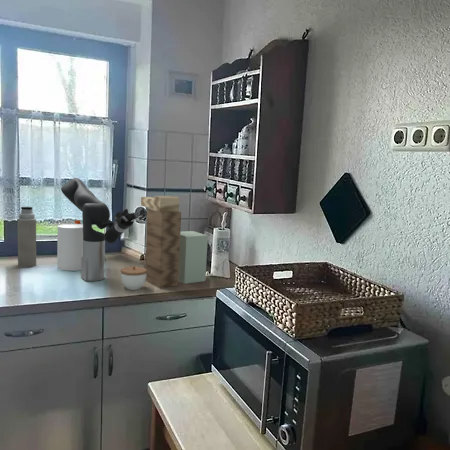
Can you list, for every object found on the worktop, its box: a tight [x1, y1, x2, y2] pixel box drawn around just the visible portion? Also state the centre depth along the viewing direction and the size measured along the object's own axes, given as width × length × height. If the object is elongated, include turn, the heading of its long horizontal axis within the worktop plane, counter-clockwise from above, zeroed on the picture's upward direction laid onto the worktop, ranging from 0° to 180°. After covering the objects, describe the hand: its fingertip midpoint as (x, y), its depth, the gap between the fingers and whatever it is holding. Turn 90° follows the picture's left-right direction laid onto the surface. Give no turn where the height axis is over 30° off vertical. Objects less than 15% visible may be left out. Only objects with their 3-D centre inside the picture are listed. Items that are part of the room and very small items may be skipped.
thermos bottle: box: [17, 206, 37, 268], centre depth 212 cm, size 8×8×28 cm
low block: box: [178, 230, 209, 285], centre depth 204 cm, size 11×13×21 cm
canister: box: [56, 223, 83, 271], centre depth 214 cm, size 14×14×20 cm
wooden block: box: [140, 195, 180, 212], centre depth 198 cm, size 24×9×6 cm, turn 35°
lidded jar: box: [120, 265, 147, 291], centre depth 187 cm, size 11×11×9 cm
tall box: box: [144, 208, 182, 289], centre depth 195 cm, size 9×14×32 cm, turn 35°
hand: (135, 210), depth 217 cm, fingers open, 8 cm apart
